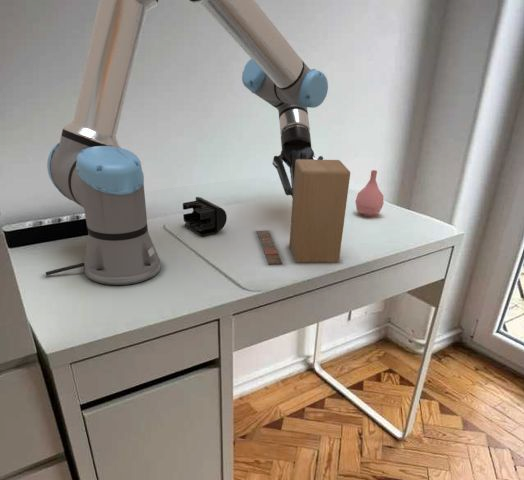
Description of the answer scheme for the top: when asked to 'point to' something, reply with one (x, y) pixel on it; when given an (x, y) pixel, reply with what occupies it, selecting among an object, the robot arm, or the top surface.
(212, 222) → the end cap
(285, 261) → the top surface
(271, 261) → the ruler
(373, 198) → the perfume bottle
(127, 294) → the top surface
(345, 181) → the wooden block
